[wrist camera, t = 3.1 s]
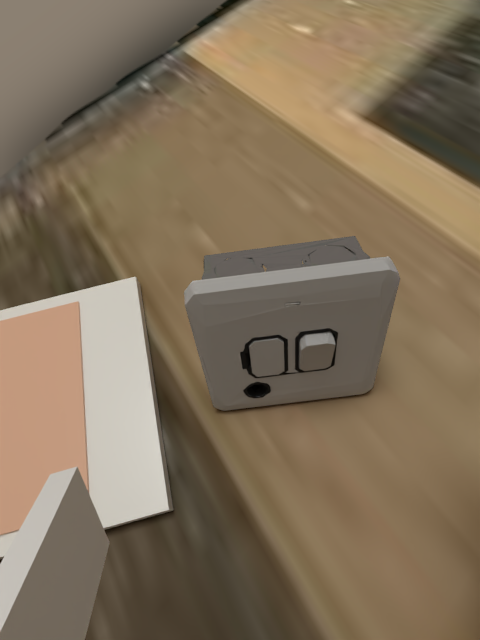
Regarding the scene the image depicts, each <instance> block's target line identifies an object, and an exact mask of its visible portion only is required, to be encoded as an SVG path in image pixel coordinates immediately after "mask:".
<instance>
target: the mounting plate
mask: <svg viewBox="0 0 480 640" xmlns="http://www.w3.org/2000/svg"><path fill="white" fill-rule="evenodd" d="M74 467H78V469H79V471H80V474H81V476H82V479H83V481H84V483H85V486H86V488H87V490H88V493H89V495H90V497H91V500H92V502H93V505H94V507H95V509H96V512H97V514H98V516H99V519H100V521H101V523H102V526H103V528H104V530H106V529H110V528H113V527H117V526H120V525H124V524H127V523H131V522H134V521H138V520H141V519H145V518H149V517H152V516H156V515H159V514H163V513H166V512H170V511H173V504H172V497H171V490H170V483H169V477H168V470H167V463H166V456H165V450H164V443H163V436H162V429H161V423H160V416H159V409H158V402H157V396H156V389H155V382H154V375H153V368H152V362H151V355H150V348H149V341H148V335H147V328H146V321H145V314H144V308H143V301H142V294H141V287H140V283H139V282H138V280H137V278H136V277H132V278H128V279H124V280H120V281H116V282H112V283H108V284H104V285H100V286H96V287H92V288H88V289H84V290H80V291H76V292H72V293H68V294H64V295H60V296H56V297H52V298H48V299H44V300H40V301H36V302H32V303H28V304H24V305H20V306H16V307H12V308H8V309H4V310H0V559H3V558H4V556H5V554H6V553H7V551H8V549H9V547H10V546H11V544H12V542H13V540H14V538H15V537H16V535H17V533H18V531H19V529H20V528H21V526H22V524H23V522H24V520H25V519H26V517H27V515H28V513H29V511H30V510H31V508H32V506H33V504H34V503H35V501H36V499H37V497H38V495H39V494H40V492H41V490H42V488H43V486H44V485H45V483H46V481H47V479H48V477H49V476H50V474H53V473H56V472H60V471H63V470H67V469H70V468H74Z"/></svg>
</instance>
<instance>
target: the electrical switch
mask: <svg viewBox="0 0 480 640" xmlns="http://www.w3.org/2000/svg"><path fill="white" fill-rule="evenodd" d="M326 245H328V246H326ZM347 249H348V250H349V251H348V250H347ZM308 256H309V257H308ZM227 258H230V259H228V260H226V259H227ZM203 259H204V274H203V276H202V280H197V281H192V282H191V284H190V285H189V286H188V287H187V289H186V290H185V291H184V295H185V307H186V311H187V314H188V318H189V322H190V325H191V329H192V332H193V336H194V339H195V343H196V346H197V350H198V353H199V357H200V360H201V364H202V368H203V371H204V375H205V378H206V382H207V385H208V389H209V392H210V396H211V399H212V403H213V406H214V407H215V408H217V409H220V410H223V411H227V410H235V409H243V408H252V407H260V406H268V405H276V404H285V403H293V402H301V401H309V400H318V399H326V398H334V397H342V396H351V395H359V394H364V393H366V392H368V391H369V390H371V389H372V388H373V386H374V381H375V377H376V373H377V369H378V365H379V361H380V357H381V353H382V349H383V345H384V341H385V337H386V333H387V329H388V325H389V321H390V317H391V313H392V309H393V305H394V301H395V297H396V293H397V289H398V285H399V281H400V277H399V273H398V271H397V269H396V267H395V265H394V263H393V262H392V260H391V259H390V257H381V258H372V259H370V257H369V256H368V255H367V254H366V253H365V252H363V250H362V248H361V247H360V245H359V243H358V241H357V239H356V237H355V236H352V237H344V238H337V239H329V240H321V241H314V242H306V243H298V244H291V245H283V246H275V247H268V248H260V249H252V250H244V251H237V252H229V253H221V254H214V255H206V256H204V258H203ZM302 260H303V263H304V264H302ZM262 265H264V266H265V267H266V268H267V270H266V272H264V269H263V266H262Z"/></svg>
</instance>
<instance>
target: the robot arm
mask: <svg viewBox="0 0 480 640" xmlns="http://www.w3.org/2000/svg"><path fill="white" fill-rule="evenodd" d="M109 543H110V542H109V540H108V538H107V535H106V533H105V530H104V528H103V526H102V523H101V521H100V519H99V516H98V514H97V512H96V509H95V507H94V505H93V502H92V500H91V497H90V495H89V493H88V490H87V488H86V486H85V483H84V481H83V479H82V476H81V474H80V471H79V469H78V467H74V468H70V469H67V470H63V471H60V472H56V473H53V474H50V476H49V477H48V479H47V481H46V483H45V485H44V486H43V488H42V490H41V492H40V494H39V495H38V497H37V499H36V501H35V503H34V504H33V506H32V508H31V510H30V511H29V513H28V515H27V517H26V519H25V520H24V522H23V524H22V526H21V528H20V529H19V531H18V533H17V535H16V537H15V538H14V540H13V542H12V544H11V546H10V547H9V549H8V551H7V553H6V554H5V556H4V558H3V560H2V562H1V563H0V640H85V637H86V633H87V629H88V625H89V621H90V617H91V613H92V609H93V605H94V602H95V598H96V594H97V590H98V586H99V582H100V578H101V574H102V570H103V566H104V562H105V558H106V554H107V550H108V547H109Z"/></svg>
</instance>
